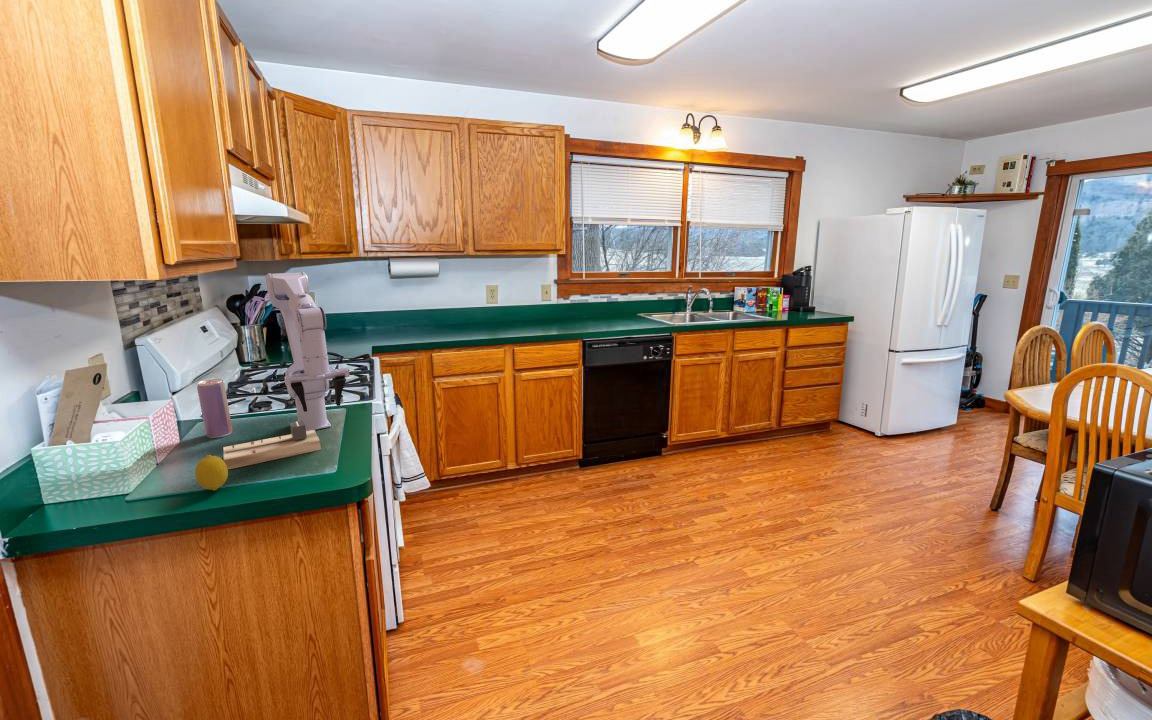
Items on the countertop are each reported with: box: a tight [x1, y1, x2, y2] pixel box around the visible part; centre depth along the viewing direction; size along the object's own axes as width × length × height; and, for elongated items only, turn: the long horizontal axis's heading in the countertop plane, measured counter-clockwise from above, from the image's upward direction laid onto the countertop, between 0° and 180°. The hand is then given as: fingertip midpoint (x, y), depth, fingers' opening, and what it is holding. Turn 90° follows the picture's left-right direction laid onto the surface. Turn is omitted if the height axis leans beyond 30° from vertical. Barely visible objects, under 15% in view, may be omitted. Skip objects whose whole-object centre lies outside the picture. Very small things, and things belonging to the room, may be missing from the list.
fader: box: [289, 421, 307, 441], centre depth 129 cm, size 4×3×4 cm
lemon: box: [194, 454, 229, 492], centre depth 108 cm, size 6×6×8 cm
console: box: [223, 430, 322, 470], centre depth 127 cm, size 9×20×3 cm, turn 124°
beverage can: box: [196, 378, 233, 439], centre depth 138 cm, size 6×6×15 cm
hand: (322, 407), depth 131 cm, fingers open, 7 cm apart
